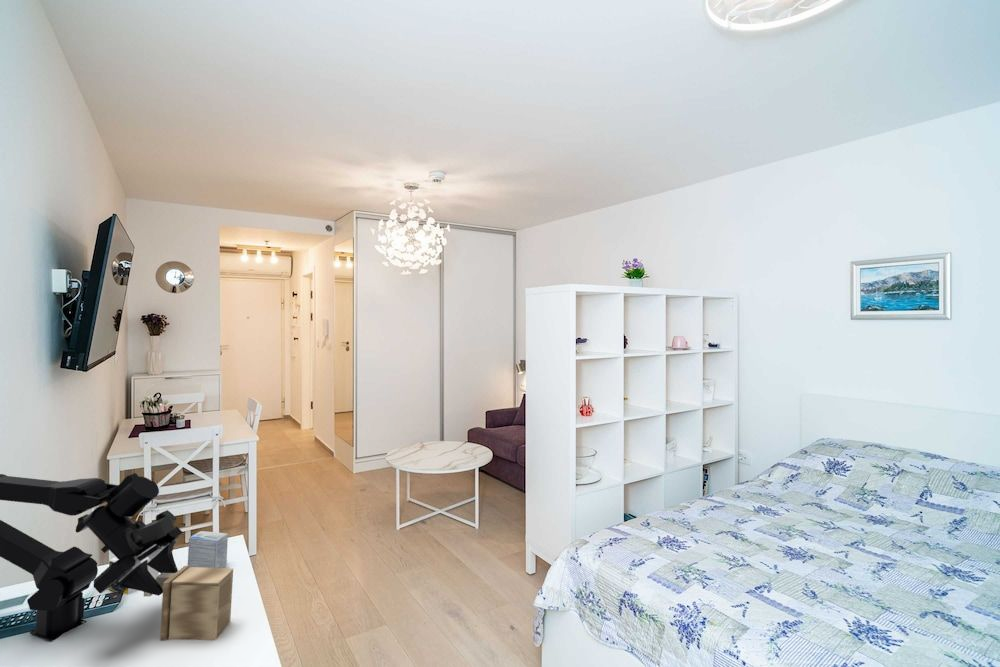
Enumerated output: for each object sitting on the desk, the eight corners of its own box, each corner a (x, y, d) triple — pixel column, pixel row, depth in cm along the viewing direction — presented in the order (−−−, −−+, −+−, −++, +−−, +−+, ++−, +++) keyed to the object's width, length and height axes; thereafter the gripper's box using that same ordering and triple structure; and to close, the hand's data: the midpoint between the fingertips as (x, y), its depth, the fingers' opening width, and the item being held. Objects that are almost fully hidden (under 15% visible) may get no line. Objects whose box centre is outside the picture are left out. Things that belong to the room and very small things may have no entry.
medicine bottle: (107, 589, 113) (110, 538, 113) (139, 575, 120) (141, 527, 120) (127, 597, 111) (130, 544, 111) (158, 582, 117) (161, 533, 117)
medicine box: (227, 565, 127) (228, 533, 127) (215, 574, 123) (217, 540, 123) (199, 562, 128) (200, 530, 128) (186, 571, 123) (188, 537, 123)
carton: (168, 641, 96) (171, 581, 96) (186, 623, 102) (189, 567, 102) (214, 643, 97) (218, 583, 97) (230, 624, 103) (233, 568, 103)
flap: (138, 639, 96) (141, 582, 96) (161, 618, 102) (164, 565, 102) (165, 640, 96) (168, 582, 96) (186, 619, 103) (189, 565, 103)
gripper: (113, 522, 90) (171, 583, 90) (176, 489, 108) (223, 540, 109) (66, 563, 89) (125, 624, 90) (137, 523, 108) (186, 574, 108)
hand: (170, 586), depth 99 cm, fingers closed on flap, 5 cm apart
